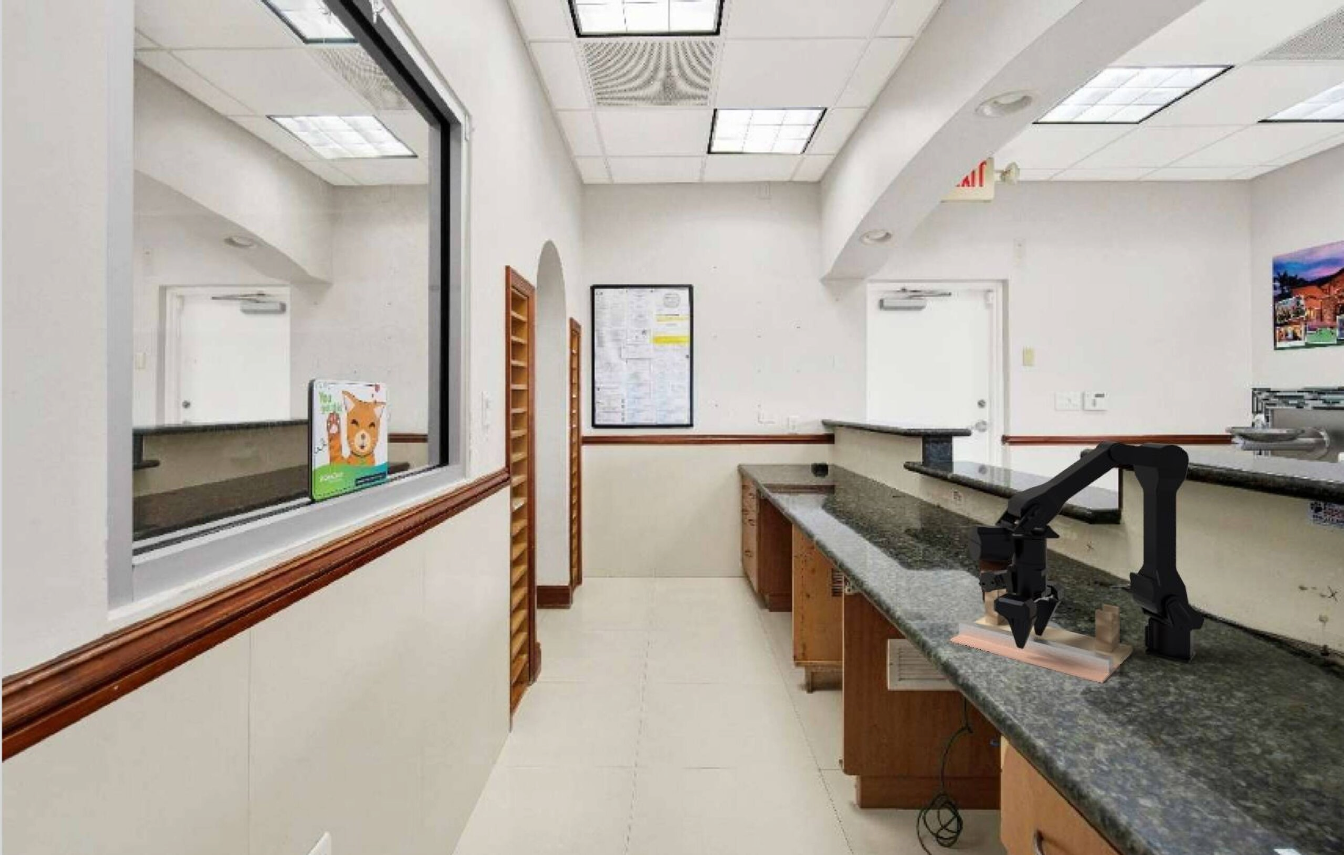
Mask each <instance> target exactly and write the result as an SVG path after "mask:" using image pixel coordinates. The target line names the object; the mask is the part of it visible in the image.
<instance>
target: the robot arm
mask: <svg viewBox="0 0 1344 855" xmlns="http://www.w3.org/2000/svg"><path fill="white" fill-rule="evenodd" d="M1189 456H1190V455H1189V453H1188V452H1187V451H1186V450H1185V449H1183V447H1181V446H1179V445H1177V444H1170V443H1159V442H1157V443H1156V442H1144V443H1142V444H1140V445H1133V444H1126V443H1124V442H1120V441H1110V440H1105V441H1102V442H1099V443H1098V444H1097V445H1096V447H1095V448H1094V449H1091V451H1089V452H1087V453H1086V454H1085V455H1084V456H1081V458H1079V459H1077V461H1075V462H1073V463H1072V464H1070V465H1069V466H1068V467H1067V468H1065V469H1064V470H1062V471H1061V472H1059V473H1058V474H1056V475H1055V476H1054V477H1052V478H1050V479H1049V480H1048V481H1046V482H1044V483H1042V484H1039V485H1036V486H1035V485H1034V486H1033V487H1029V488H1028V487H1027V489H1024V490H1022V491H1020V492H1018V493H1016V494H1014V495H1013V496H1011V497H1010V498H1009V500H1008V501H1007V507H1006V509H1005V511H1004V512H1003V513H1002V514H1001V516H1000V517H999V518H998V520H997V521H995V523H994V525H983V524H974V525H973V526H972V527H973V528H972V531H971V532H970V535H969V539H968V542H967V544H968V545H967V546H968V551H969V555H970V557H971V559H972V560H973V561H974V562H979V561H1008V560H1009V558H1012V564H1011V565H1009V566H1008V567H1007V570H1002V571H996V572H993V571H988V572H982V573H981V576H980V575H979V577H978V586H979V587H981V586H982V588H984V590H985V592H986V593H987V592H991V591H994V590H1001V589H1006V592H1008V593H1013V594H1008V593H1005V594H1003V595H1002V596H1000V597H998V598H997V599H995V600H994V611H995V612H997V613H998V614H999V615H1001V616H1003V617H1004V618H1005V619H1006V620H1007V621H1008V623H1009V625H1010V628H1011V631H1012V634H1013V637H1014V640H1015V643H1016V646H1017V647H1018V648H1021V649H1023V648H1024V647H1025V645H1026V642H1027V640H1028V637H1029V635H1030V632H1031V630H1032V627H1033V625H1034V631H1035V634H1036V635H1038V636H1042V634H1043V632H1044V631H1045V629H1046V627H1048V624H1049V622H1050V621H1051V619H1052V617H1053V616H1054V615H1055V612H1056V610H1057V609H1058V607H1059V605H1060V603H1061V600H1062V599H1063V598H1064V596H1065V595H1064V594H1065V593H1064V589H1065V588H1064V586H1062V584H1060V582H1059V581H1054V580H1048V574H1050V573H1051V567H1052V566H1050V565H1048V561H1047V560H1048V559H1047V558H1048V539H1059V538H1060V536H1061V535H1060V534H1058V533H1057V532H1056V531H1055V530H1054V529H1053V528H1052V527H1051V526H1050V525H1049V524H1050V523H1051V522H1052V521H1053V520H1054V519H1055V518H1056V517H1057V516H1058V515H1059V514H1060V512H1061V510H1062V509H1063V508H1064V505H1065V503H1067V501H1069V500H1070V499H1071V498H1073V497H1074V496H1076V495H1077V494H1078V493H1080V492H1081V491H1083V490H1084V489H1086V488H1087V487H1089V486H1090V485H1091V484H1093V483H1094V482H1097V480H1099V479H1100V478H1101V477H1103V476H1104V475H1106V474H1107V473H1108V472H1111V470H1113V469H1114V468H1116V467H1117V466H1119V465H1121V464H1126V465H1132V466H1133V472H1134V476H1135V477H1136V480H1137V481H1138V483H1139V485H1140V486H1141V488H1142V491H1143V492H1142V493H1143V494H1142V496H1143V497H1142V498H1143V500H1142V502H1143V503H1142V505H1143V508H1142V509H1143V511H1142V512H1143V514H1142V515H1143V516H1142V517H1143V518H1142V519H1143V520H1142V521H1143V522H1142V524H1143V527H1142V528H1143V530H1142V532H1143V534H1142V535H1143V540H1142V541H1143V542H1142V543H1143V546H1142V548H1143V550H1142V551H1143V554H1142V555H1143V557H1142V558H1143V563H1142V565H1141V567H1140V569H1139V570H1138V572H1132V571H1130V572H1129V581H1130V586H1129V589H1128V591H1127V592H1128V593H1129V594H1132V600H1133V602H1135V603H1136V604H1137V605H1138V606H1139V608H1140V610H1141V612H1142V614H1143V615H1146V616H1148V617H1149V618H1148V619H1147V623H1146V624H1145V625H1144V647H1145V648H1146V649H1145V651H1144V652H1145V653H1146V654H1149V655H1152V656H1157V657H1161V658H1165V659H1169V660H1174V661H1179V662H1183V663H1186V664H1188V663H1189V664H1190V663H1191V662H1192V660H1193V659H1194V657H1195V656H1196V654H1197V651H1196V650H1194V649H1195V648H1194V644H1195V642H1194V638H1195V636H1194V633H1195V631H1194V630H1202V628H1203V625H1204V623H1205V617H1203V616H1202V615H1201V614H1200V613H1199V612H1198V611H1197V610H1196V609H1194V608H1193V607H1192V606H1191V604H1190V602H1189V596H1188V592H1187V586H1186V584H1185V582H1184V581H1183V579H1182V577H1181V575H1180V574H1179V571H1178V567H1177V493H1178V491H1179V490H1180V487H1181V486H1182V485H1183V483H1184V482H1185V480H1186V478H1187V474H1188V469H1189V466H1190V465H1189V463H1190V457H1189ZM1053 596H1054V597H1053Z"/></svg>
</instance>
